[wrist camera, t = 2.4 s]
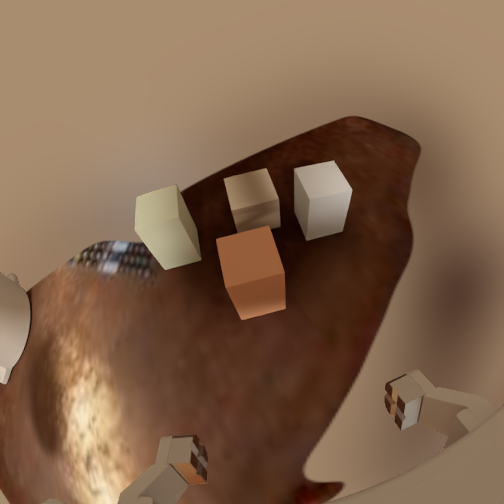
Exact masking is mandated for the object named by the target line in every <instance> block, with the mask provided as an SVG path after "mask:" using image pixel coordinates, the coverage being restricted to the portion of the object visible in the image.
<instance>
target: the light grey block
mask: <svg viewBox="0 0 504 504" xmlns="http://www.w3.org/2000/svg"><path fill="white" fill-rule="evenodd" d="M351 194H352V189H351V187H350V185H349V184H348V182H347V181H346V179H345V177H344V176H343V174H342V173H341V171H340V170H339V168H338V167H337V165H336V164H335V162H334V161H330V162H325V163H320V164H314V165H309V166H304V167H299V168H295V169H294V212H295V214H296V217H297V219H298V221H299V224H300V226H301V229H302V231H303V233H304V236H305V238H306V241H308V240H312V239H315V238H319V237H323V236H327V235H331V234H335V233H338V232H342V231H343V227H344V223H345V219H346V215H347V211H348V207H349V203H350V198H351Z"/></svg>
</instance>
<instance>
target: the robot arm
mask: <svg viewBox="0 0 504 504" xmlns="http://www.w3.org/2000/svg"><path fill="white" fill-rule="evenodd" d="M29 326H30V303H29V299H28V296H27V294H26V292H25V290H24V289H23V288H21V287H20V285H19V282H18V278H17V276H15V275H14V274H10V275H8V276H6V275H4V274H2V273H1V272H0V382H1V383H3V384H6V383H7V382H8V379H9V376H10V373H11V370H12V368H13V366H14V365H15V364H16V362H17V361H18V359H19V358H20V356H21V354H22V352H23V349H24V347H25V344H26V341H27V337H28V332H29ZM385 390H386V391H387V394H386V395H385V405H386V408H387V410H388V412H389V414H390V415H393V416H395V423H396V424H397V425H398V427H399V428H400V430H403V429H405V428H407V427H409V426H411V425H413V424H415V423H417V422H418V424H420V425H423V426H425V427H427V428H430V429H432V430H435V431H437V432H440V433H442V434H445V435H447V436H448V439H447V442H446V444H445V446H444V450H442V451H441V452H439V453H438V454H436V455H434V456H432V457H431V458H429V459H427V460H426V461H424V462H422V463H420V464H418V465H417V466H415V467H413V468H411V469H409V470H407V471H405V472H403V473H401V474H399V475H397V476H395V477H393V478H391V479H388V480H386V481H384V482H382V483H379V484H377V485H375V486H372V487H370V488H367V489H365V490H362V491H359V492H357V493H354V494H351V495H348V496H345V497H343V498H339V499H336V500H333V501H330V502H327V503H323V504H504V404H503V405H502V406H501V407H500V408H499V409H498V410H497V411H496V410H495V409H494V408H493V407H492V406H491V405H490V404H489V403H488V402H487V401H486V400H485V399H484V398H483V397H481V396H479V395H473V394H468V393H463V392H459V391H454V390H449V389H445V388H441V387H438V388H435V387H434V386H433V385H432V384H431V383H430V382H429V380H428V379H427V378H426V377H424V375H423V374H422V373H421V372H420V371H419V370H417V369H415V370H413V371H411V372H409V373H407V374H404V375H402V376H400V377H398V378H396V379H394V380H392V381H390V382H388V383H386V385H385ZM207 464H208V456H207V452H206V449H205V447H204V446H203V445H202V444H200V443H199V438H198V437H197V435H184V436H169V437H162V438H161V440H160V444H159V449H158V453H157V458H156V463H155V464H152V465H151V466H150V467H149V468H148V469H147V470H146V471H145V472H144V473H142V474H141V475H140V476H139V477H138V478H137V479H136V480H135V481H134V482H133V483H132V484H130V485H129V486H128V487H127V488H126V489H125V490H124V491H123V492H121V493H120V497H119V501H118V504H175V503H176V502H177V501H178V499H179V498H180V497H181V495H182V494H183V493H184V491H185V490H186V489H187V487H188V486H189V485H188V484H202V483H207V473H208V471H207V470H206V469H205V466H206V465H207ZM41 504H70V503H67V502H64V501H61V500H58V499H49V500H46V501H44V502H43V503H41Z"/></svg>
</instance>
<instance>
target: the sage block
mask: <svg viewBox="0 0 504 504" xmlns="http://www.w3.org/2000/svg"><path fill="white" fill-rule="evenodd" d="M135 231H136V233H137V234H138V235H139V237H140V238H141V239H142V241H143V242H144V243H145V245H146V246H147V247H148V249H149V250H150V251H151V253H152V254H153V255H154V256H155V258H156V259H157V260H158V262H159V263H160V264H161V265H162V267H163V268H164V269H165V270H167V269H171V268H174V267H178V266H182V265H186V264H190V263H193V262H197V261H201V253H200V247H199V240H198V233H197V228H196V226H195V224H194V222H193V220H192V218H191V215H190V213H189V211H188V209H187V207H186V204H185V202H184V200H183V198H182V196H181V193H180V191H179V189H178V187H177V185H172V186H169V187H166V188H162V189H159V190H156V191H153V192H150V193H147V194H144V195H141V196H138V197H137V199H136V214H135Z"/></svg>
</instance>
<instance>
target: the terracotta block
mask: <svg viewBox="0 0 504 504" xmlns="http://www.w3.org/2000/svg"><path fill="white" fill-rule="evenodd" d="M216 242H217V247H218V253H219V258H220V263H221V268H222V273H223V278H224V283H225V288H226V290H227V292H228V294H229V296H230V298H231V300H232V302H233V304H234V306H235V308H236V310H237V312H238V314H239V316H240V318H241V320H244V319H248V318H252V317H256V316H260V315H263V314H267V313H271V312H275V311H278V310H282V309H286V303H285V272H284V269H283V266H282V263H281V260H280V256H279V253H278V250H277V247H276V244H275V241H274V238H273V235H272V232H271V229H270V226H265V227H261V228H257V229H253V230H249V231H245V232H241V233H237V234H234V235H230V236H226V237H222V238H218V239H216Z"/></svg>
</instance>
